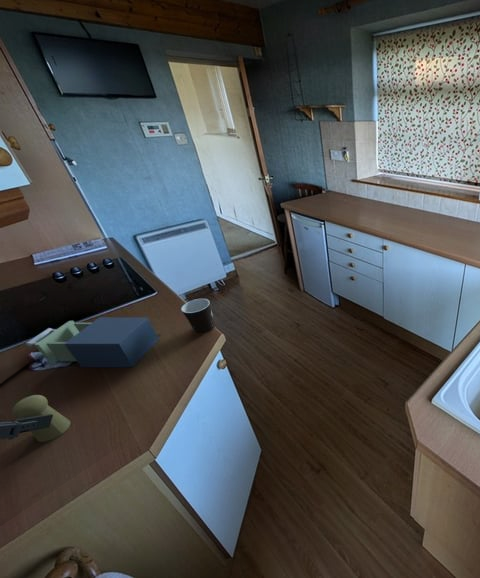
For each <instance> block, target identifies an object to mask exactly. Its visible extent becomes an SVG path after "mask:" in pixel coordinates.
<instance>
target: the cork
mask: <svg viewBox="0 0 480 578" xmlns="http://www.w3.org/2000/svg"><path fill="white" fill-rule="evenodd" d="M12 414H13V416H15V417H16V418H17V419H23V418H29V417H36V416H42V415H48V414H53V417H52V420H51V424H50V427H49V428H44V429H39V430H33V431H30V432H31V434H33V436H34V438H35V440H36V441H37V442H39V443H45V442H50V441H53V440H54V439H56V438H58V437H60V436H61V435H63V434H64V433H65V432H66V431H67V430H68V429H69V428H70V425H72V424H71V420H69V419H68V418H67V417H65V416H64V415H63V414H61V413H60V412H58V411H57V410H56V409H54V408H53V407H51V406H50V405H49V402H48V399H47V398H46V397H45V396H43V395H42V394H41V395H40V394H32V395H30V396H27V397H24V398H23V399H21V400H19V401H18V402H16V403H15V404H14V406H13V407H12Z"/></svg>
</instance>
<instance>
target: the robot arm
mask: <svg viewBox="0 0 480 578" xmlns="http://www.w3.org/2000/svg"><path fill="white" fill-rule="evenodd" d="M52 417H53V414H48V415H42V416H36V417H29V418H17V419H13V420H12V421H1V422H0V440H5V439H7V440H8V441H11V440H14V439H15V438H18V437H19V436H20V434H22V433H27V432H31V431H33V430H39V429H44V428H49V427H50V424H51V420H52Z"/></svg>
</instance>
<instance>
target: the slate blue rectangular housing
mask: <svg viewBox="0 0 480 578" xmlns="http://www.w3.org/2000/svg"><path fill="white" fill-rule="evenodd" d="M90 323H91V324H90V325H89V326H87V327H86V328H85V329H83V330H82V331H81V332H79V333H78V334H77V335H75V336H74V337H73V338H71V339H70V340H69V341H67V342H66V343H65V346H66V347H67V348H68V350H69V351H70V352H71V354H72V355H73V356H74V358H75V359H76V360H77V361H76V362H77V363H78V365H79V366H80V368H134V367H136V365H137V364H138V363H139V361H141V359H142V358H143V357H144V356H145V355H146V354H147V353H148V352H149V351H150V350H151V349H152V348H153V347H154V346H155V345H156V344H157V343H158V342H159V340H160V339H159V337H158V335H157V333H156V331H155V329H154V327H153V325H152V323H151V321H150V319H149V317H108V316H107V317H103V316H102V317H98V318H97V319H94V321H92V322H90Z"/></svg>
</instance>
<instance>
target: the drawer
mask: <svg viewBox="0 0 480 578" xmlns="http://www.w3.org/2000/svg"><path fill="white" fill-rule="evenodd" d="M91 323H92V322H75V321H74V320H68V321H67V322H65V323H64V324H63V325H61V326H59V327H58V328H57V329H54V328H51V327H48V328H47V329H45V330H43V331H42V332H40V333H39V334H38V335H36V336H34V337H33V338H31V339H30V340H28V341H26V342H25V345H26V346H27V347H33V346H35V348H36V349H37V350H38V351H39V352H40V354H41V355H42V356H43V357H44V359H46V361H47V362H48V363H49V364H50V365H53V364H54V365H55V364H56V363H57V362H58V361H59V362H77V360H76V359H75V358H74V356H73V355H72V354H71V352H70V351H69V350H68V348H67V347H66V346H65V343H66V342H67V341H69V340H70V339H71V338H73V337H74V336H75V335H77V334H78V333H79V332H81V331H82V330H83V329H85V328H86V327H87V326H89V325H90V324H91Z"/></svg>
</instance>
